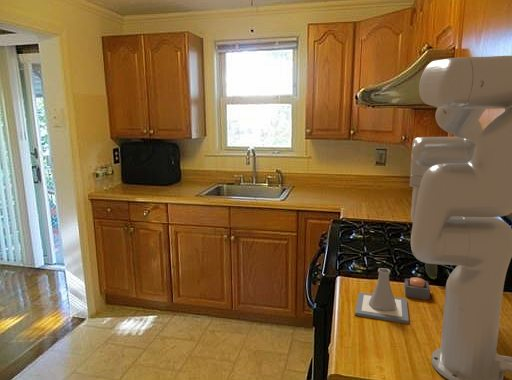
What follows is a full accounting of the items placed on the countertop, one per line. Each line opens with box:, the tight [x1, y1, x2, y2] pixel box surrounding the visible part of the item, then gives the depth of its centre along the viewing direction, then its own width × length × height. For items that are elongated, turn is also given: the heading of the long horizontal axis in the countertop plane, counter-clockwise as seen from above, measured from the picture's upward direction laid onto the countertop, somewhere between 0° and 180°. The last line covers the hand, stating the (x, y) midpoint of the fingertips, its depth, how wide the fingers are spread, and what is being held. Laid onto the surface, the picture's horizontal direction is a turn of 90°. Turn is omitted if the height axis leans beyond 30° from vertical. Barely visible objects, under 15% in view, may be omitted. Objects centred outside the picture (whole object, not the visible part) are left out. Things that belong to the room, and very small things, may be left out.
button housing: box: [403, 278, 431, 300], centre depth 110 cm, size 6×6×3 cm
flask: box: [369, 267, 396, 311], centre depth 100 cm, size 7×7×10 cm
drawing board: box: [354, 292, 410, 325], centre depth 101 cm, size 13×13×1 cm
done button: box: [409, 277, 426, 288], centre depth 110 cm, size 4×4×3 cm
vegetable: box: [424, 263, 438, 280], centre depth 120 cm, size 4×4×20 cm
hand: (419, 243), depth 108 cm, fingers open, 3 cm apart
